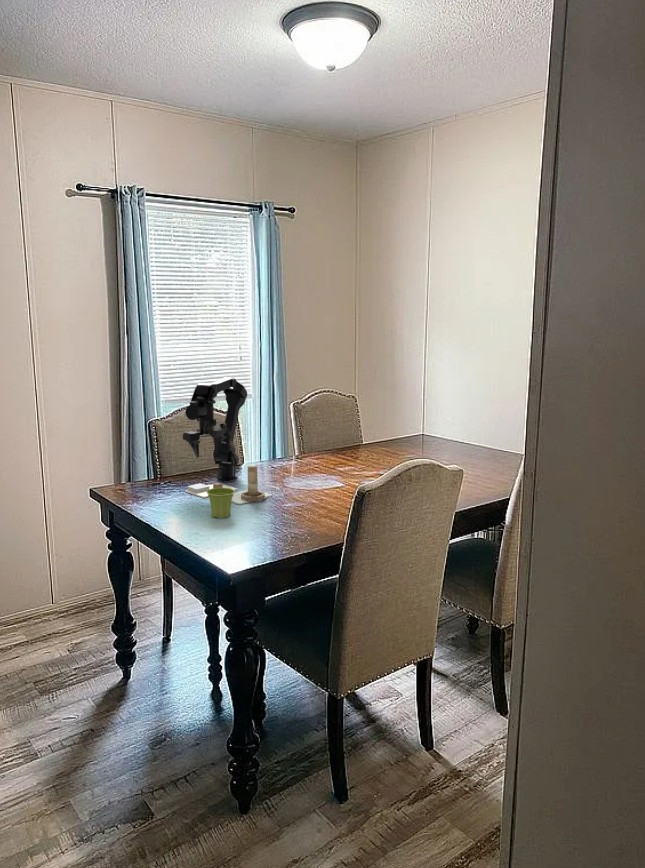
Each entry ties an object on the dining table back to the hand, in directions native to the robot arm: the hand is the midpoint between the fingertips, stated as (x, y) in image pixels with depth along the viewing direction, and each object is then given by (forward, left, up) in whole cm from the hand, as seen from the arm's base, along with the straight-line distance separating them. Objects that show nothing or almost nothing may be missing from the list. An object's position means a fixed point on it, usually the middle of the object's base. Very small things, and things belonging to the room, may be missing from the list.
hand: (207, 455), depth 263 cm
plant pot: (+18, +32, -13) cm, 39 cm away
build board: (-2, +22, -13) cm, 26 cm away
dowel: (-2, +25, -12) cm, 28 cm away
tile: (+2, +5, -13) cm, 14 cm away
